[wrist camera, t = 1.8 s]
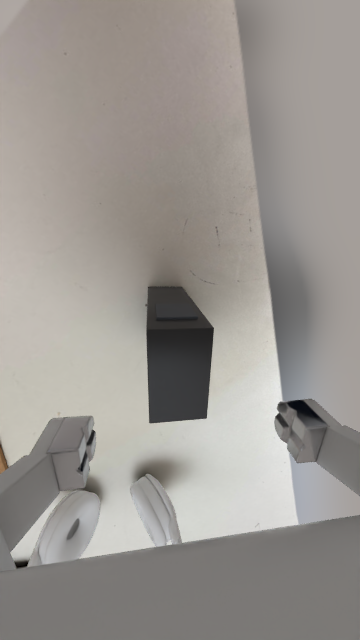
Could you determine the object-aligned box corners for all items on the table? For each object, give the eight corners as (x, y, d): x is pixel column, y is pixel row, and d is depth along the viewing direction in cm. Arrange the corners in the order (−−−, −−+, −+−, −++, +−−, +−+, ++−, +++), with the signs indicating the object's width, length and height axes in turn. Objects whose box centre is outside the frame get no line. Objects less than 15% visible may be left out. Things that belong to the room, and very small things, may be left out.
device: (148, 285, 22) (146, 327, 11) (181, 285, 22) (214, 325, 11) (149, 339, 24) (149, 423, 13) (180, 338, 24) (206, 418, 13)
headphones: (42, 484, 29) (-160, 934, 10) (175, 454, 30) (218, 797, 11) (59, 516, 31) (-76, 925, 12) (182, 487, 33) (225, 813, 14)
